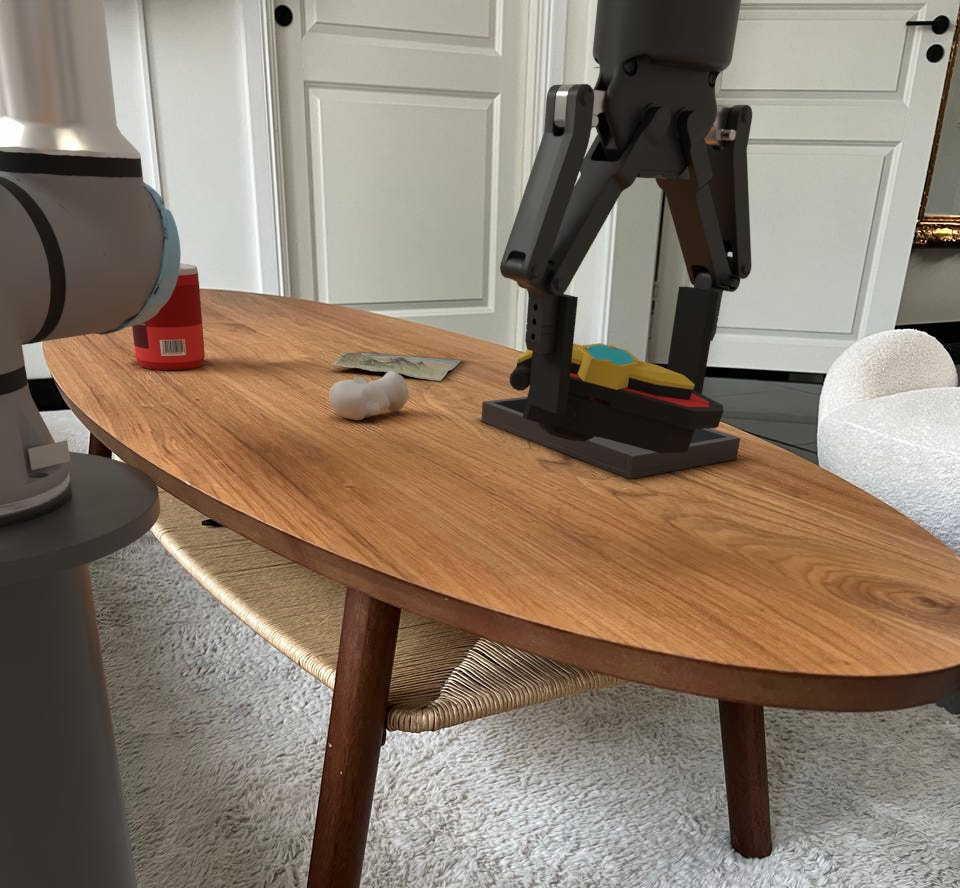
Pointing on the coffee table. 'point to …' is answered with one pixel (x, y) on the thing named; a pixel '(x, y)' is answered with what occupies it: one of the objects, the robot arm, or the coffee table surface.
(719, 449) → the dark gray tray
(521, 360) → the gadget
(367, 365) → the topographic map
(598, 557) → the coffee table surface
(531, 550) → the coffee table surface
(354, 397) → the smooth white sculpture
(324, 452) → the coffee table surface
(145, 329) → the canned food
